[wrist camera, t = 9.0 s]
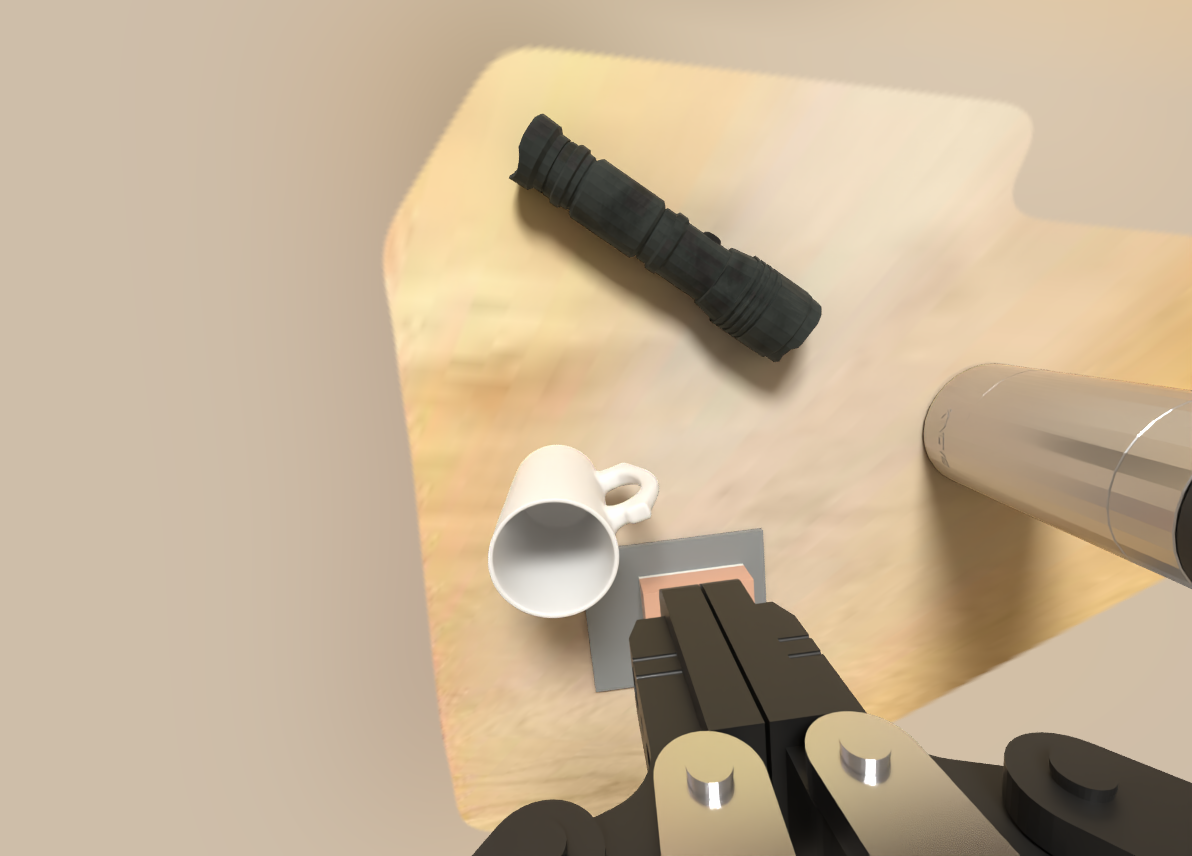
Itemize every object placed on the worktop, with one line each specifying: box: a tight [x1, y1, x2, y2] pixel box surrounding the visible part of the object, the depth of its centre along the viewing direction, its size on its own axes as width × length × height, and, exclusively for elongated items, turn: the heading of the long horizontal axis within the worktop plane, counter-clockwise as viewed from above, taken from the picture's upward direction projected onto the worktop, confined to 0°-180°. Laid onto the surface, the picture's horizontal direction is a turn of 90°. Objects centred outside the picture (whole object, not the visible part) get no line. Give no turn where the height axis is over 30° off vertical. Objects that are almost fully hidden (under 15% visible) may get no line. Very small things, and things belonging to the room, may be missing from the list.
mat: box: [586, 528, 766, 692], centre depth 43 cm, size 14×12×1 cm
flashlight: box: [509, 114, 821, 362], centre depth 35 cm, size 5×21×5 cm, turn 58°
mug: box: [488, 445, 659, 618], centre depth 34 cm, size 10×7×12 cm, turn 113°
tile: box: [639, 564, 755, 619], centre depth 41 cm, size 2×7×8 cm
